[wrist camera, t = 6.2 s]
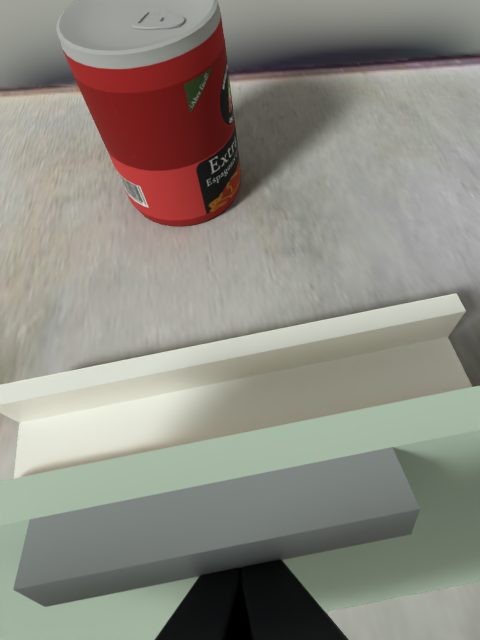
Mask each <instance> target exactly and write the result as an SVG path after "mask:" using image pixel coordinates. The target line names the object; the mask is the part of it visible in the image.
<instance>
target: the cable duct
mask: <svg viewBox="0 0 480 640" xmlns="http://www.w3.org/2000/svg"><path fill="white" fill-rule="evenodd" d="M465 312H466V310H465V308H464V306H463V304H462V303H461V301H460V299H459V297H458V295H457V293H455V294H450V295H445V296H440V297H435V298H430V299H425V300H420V301H415V302H410V303H405V304H400V305H395V306H390V307H385V308H380V309H375V310H370V311H365V312H360V313H355V314H350V315H345V316H340V317H335V318H330V319H325V320H320V321H315V322H310V323H305V324H300V325H296V326H291V327H286V328H281V329H276V330H271V331H266V332H261V333H256V334H251V335H246V336H241V337H236V338H231V339H226V340H221V341H216V342H211V343H206V344H201V345H196V346H191V347H186V348H181V349H176V350H171V351H166V352H161V353H156V354H151V355H146V356H141V357H136V358H131V359H126V360H121V361H116V362H111V363H106V364H101V365H96V366H91V367H86V368H82V369H77V370H72V371H67V372H62V373H57V374H52V375H47V376H42V377H37V378H32V379H27V380H22V381H17V382H12V383H7V384H2V385H0V413H2V414H3V415H5V416H7V417H9V418H11V419H13V420H15V421H17V422H19V423H20V424H19V434H18V443H17V452H16V462H15V471H14V478H19V477H24V476H29V475H34V474H39V473H44V472H49V471H54V470H59V469H64V468H69V467H74V466H79V465H84V464H89V463H94V462H99V461H104V460H109V459H114V458H119V457H124V456H129V455H134V454H139V453H144V452H149V451H154V450H159V449H164V448H169V447H174V446H179V445H184V444H189V443H194V442H199V441H204V440H209V439H214V438H219V437H224V436H229V435H234V434H240V433H245V432H250V431H255V430H260V429H265V428H270V427H275V426H280V425H285V424H290V423H295V422H300V421H305V420H310V419H315V418H320V417H325V416H330V415H335V414H340V413H345V412H350V411H355V410H360V409H365V408H370V407H375V406H380V405H385V404H390V403H395V402H400V401H405V400H410V399H415V398H420V397H425V396H430V395H435V394H440V393H445V392H450V391H455V390H460V389H465V388H470V387H472V385H471V383H470V381H469V379H468V377H467V375H466V373H465V371H464V369H463V367H462V364H461V362H460V360H459V358H458V356H457V354H456V352H455V350H454V348H453V346H452V344H451V342H450V340H449V338H448V336H449V335H450V333H451V332H452V331H453V329H454V328H455V326H456V325H457V323H458V322H459V321H460V319H461V318H462V316H463V315H464V313H465Z"/></svg>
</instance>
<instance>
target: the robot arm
mask: <svg viewBox="0 0 480 640" xmlns="http://www.w3.org/2000/svg"><path fill="white" fill-rule="evenodd" d="M155 640H348V638H347V637H346V636H345V635H344V634H343V632H342V631H341V630H340V629H339V628H338V626H337V625H336V624H335V623H334V622H333V620H332V619H331V618H330V617H329V616H328V614H327V613H326V612H325V611H324V610H323V608H322V607H321V606H320V605H319V604H318V603H317V601H316V600H315V599H314V598H313V597H312V595H311V594H310V593H309V592H308V591H307V589H306V588H305V587H304V586H303V585H302V583H301V582H300V581H299V580H298V579H297V577H296V576H295V575H294V574H293V573H292V571H291V570H290V569H289V568H288V567H287V565H286V564H285V563H284V562H283V561H282V560H275V561H270V562H265V563H259V564H254V565H249V566H245V567H242V568H234V569H229V570H224V571H219V572H214V573H209V574H204V575H200V576H199V577H198V579H197V580H196V582H195V583H194V584H193V586H192V587H191V589H190V590H189V592H188V593H187V594H186V596H185V597H184V599H183V600H182V601H181V603H180V604H179V606H178V607H177V609H176V610H175V611H174V613H173V614H172V616H171V617H170V618H169V620H168V621H167V623H166V624H165V626H164V627H163V628H162V630H161V631H160V633H159V634H158V635H157V637H156V638H155Z"/></svg>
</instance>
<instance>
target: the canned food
mask: <svg viewBox="0 0 480 640" xmlns="http://www.w3.org/2000/svg"><path fill="white" fill-rule="evenodd" d="M221 20H222V19H221V13H220V8H219V5H218V0H75V1H74V2H73V3H71V4H70V5H69V6H68V7H67V8H66V9H65V10H64V12H63V13H62V14H61V16H60V18H59V19H58V22H57V27H56V29H57V34H58V37H59V39H60V42H61V46H62V49H63V52H64V54H65V56H66V58H67V61H68V63H69V65H70V68H71V70H72V73H73V75H74V77H75V80H76V82H77V84H78V86H79V89H80V91H81V93H82V95H83V97H84V100H85V102H86V104H87V106H88V108H89V111H90V113H91V115H92V117H93V120H94V122H95V124H96V126H97V128H98V131H99V133H100V135H101V137H102V140H103V142H104V144H105V146H106V148H107V151H108V153H109V155H110V157H111V160H112V162H113V164H114V166H115V168H116V171H117V173H118V175H119V177H120V179H121V182H122V184H123V186H124V188H125V191H126V193H127V195H128V197H129V199H130V201H131V202H132V204H133V205H134V206H135V207H136V208H137V209H138V210H139V211H140V212H141V213H142V214H143V215H144V216H145V217H146V218H148V219H150V220H152V221H153V222H156V223H159V224H162V225H168V226H189V225H195V224H199V223H202V222H205V221H208V220H210V219H212V218H214V217H216V216H217V215H219V214H221V213H222V212H223V211H224V210H226V209H227V208H228V207H229V206H230V205H231V203H232V202H233V200H234V199H235V197H236V194H237V192H238V189H239V184H240V179H241V170H240V162H239V154H238V146H237V137H236V129H235V121H234V113H233V105H232V97H231V88H230V80H229V72H228V64H227V56H226V48H225V40H224V34H223V28H222V21H221Z"/></svg>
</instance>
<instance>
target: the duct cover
mask: <svg viewBox="0 0 480 640" xmlns="http://www.w3.org/2000/svg"><path fill="white" fill-rule="evenodd" d="M275 560H282V561H283V562H284V563H285V564H286V565H287V567H288V568H289V569H290V570H291V571H292V573H293V574H294V575H295V576H296V577H297V579H298V580H299V581H300V582H301V583H302V585H303V586H304V587H305V588H306V589H307V591H308V592H309V593H310V594H311V595H312V597H313V598H314V599H315V600H316V601H317V603H318V604H319V605H320V606H321V607H322V608H323V610H324V611H325V612H327V611H332V610H337V609H342V608H347V607H353V606H358V605H363V604H368V603H373V602H378V601H383V600H388V599H393V598H398V597H403V596H408V595H413V594H418V593H423V592H428V591H433V590H438V589H444V588H449V587H454V586H459V585H464V584H469V583H474V582H479V581H480V386H475V387H470V388H465V389H460V390H455V391H450V392H445V393H440V394H435V395H430V396H425V397H420V398H415V399H410V400H405V401H400V402H395V403H390V404H385V405H380V406H375V407H370V408H365V409H360V410H355V411H350V412H345V413H340V414H335V415H330V416H325V417H320V418H315V419H310V420H305V421H300V422H295V423H290V424H285V425H280V426H275V427H270V428H265V429H260V430H255V431H250V432H245V433H240V434H234V435H229V436H224V437H219V438H214V439H209V440H204V441H199V442H194V443H189V444H184V445H179V446H174V447H169V448H164V449H159V450H154V451H149V452H144V453H139V454H134V455H129V456H124V457H119V458H114V459H109V460H104V461H99V462H94V463H89V464H84V465H79V466H74V467H69V468H64V469H59V470H54V471H49V472H44V473H39V474H34V475H29V476H24V477H19V478H14V479H9V480H4V481H0V640H155V638H156V637H157V635H158V634H159V633H160V631H161V630H162V628H163V627H164V626H165V624H166V623H167V621H168V620H169V618H170V617H171V616H172V614H173V613H174V611H175V610H176V609H177V607H178V606H179V604H180V603H181V601H182V600H183V599H184V597H185V596H186V594H187V593H188V592H189V590H190V589H191V587H192V586H193V584H194V583H195V582H196V580H197V579H198V577H199V576H200V575H204V574H209V573H214V572H219V571H224V570H229V569H234V568H242V567H245V566H249V565H254V564H259V563H265V562H270V561H275Z"/></svg>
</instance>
